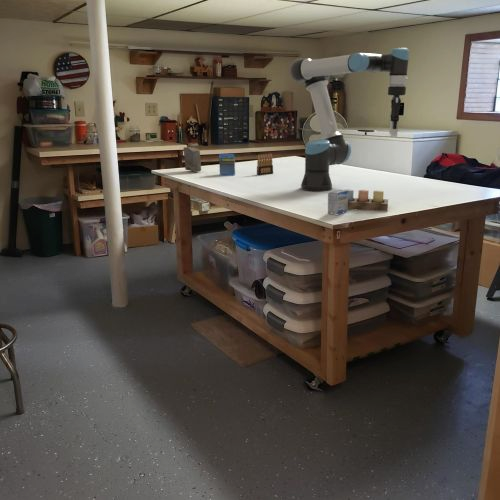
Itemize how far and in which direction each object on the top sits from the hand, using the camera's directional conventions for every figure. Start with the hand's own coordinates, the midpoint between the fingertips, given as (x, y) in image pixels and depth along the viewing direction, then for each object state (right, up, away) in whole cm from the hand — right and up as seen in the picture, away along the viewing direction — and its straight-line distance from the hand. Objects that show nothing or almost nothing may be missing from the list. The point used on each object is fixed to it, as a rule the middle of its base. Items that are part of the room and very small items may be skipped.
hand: (393, 135), depth 233 cm
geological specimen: (-99, -5, +79) cm, 127 cm away
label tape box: (-78, -8, +68) cm, 104 cm away
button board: (-18, -34, -20) cm, 44 cm away
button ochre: (-12, -33, -22) cm, 42 cm away
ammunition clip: (-56, -8, +68) cm, 88 cm away
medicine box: (-30, -37, -28) cm, 55 cm away
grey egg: (-24, -32, -19) cm, 44 cm away
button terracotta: (-18, -33, -20) cm, 43 cm away
